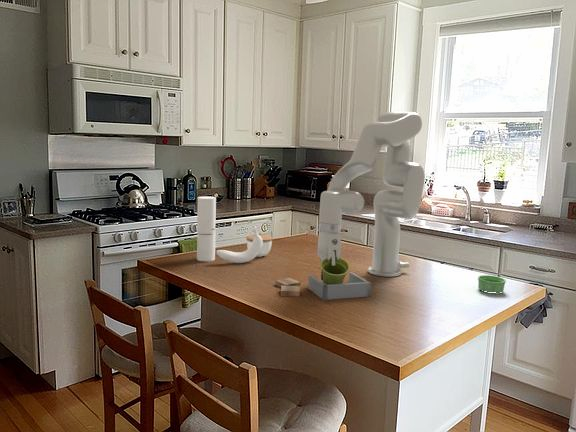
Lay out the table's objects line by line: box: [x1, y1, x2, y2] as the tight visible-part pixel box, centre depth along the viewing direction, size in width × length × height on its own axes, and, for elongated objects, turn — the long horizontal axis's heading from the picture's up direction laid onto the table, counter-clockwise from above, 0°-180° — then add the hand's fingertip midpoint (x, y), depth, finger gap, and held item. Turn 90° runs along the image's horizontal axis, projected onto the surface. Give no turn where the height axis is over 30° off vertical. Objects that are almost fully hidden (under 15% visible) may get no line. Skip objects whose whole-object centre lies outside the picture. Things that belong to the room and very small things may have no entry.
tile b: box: [280, 285, 301, 297], centre depth 168 cm, size 6×6×2 cm
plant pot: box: [320, 257, 351, 285], centre depth 172 cm, size 9×9×9 cm
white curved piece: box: [215, 224, 263, 264], centre depth 204 cm, size 5×19×15 cm, turn 120°
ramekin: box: [477, 274, 507, 293], centre depth 179 cm, size 9×9×4 cm
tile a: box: [274, 277, 301, 288], centre depth 176 cm, size 6×6×2 cm
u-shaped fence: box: [307, 271, 372, 301], centre depth 171 cm, size 16×13×4 cm
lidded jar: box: [246, 232, 273, 258], centre depth 218 cm, size 11×11×9 cm
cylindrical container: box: [196, 195, 217, 262], centre depth 207 cm, size 7×7×25 cm
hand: (326, 280), depth 178 cm, fingers closed
